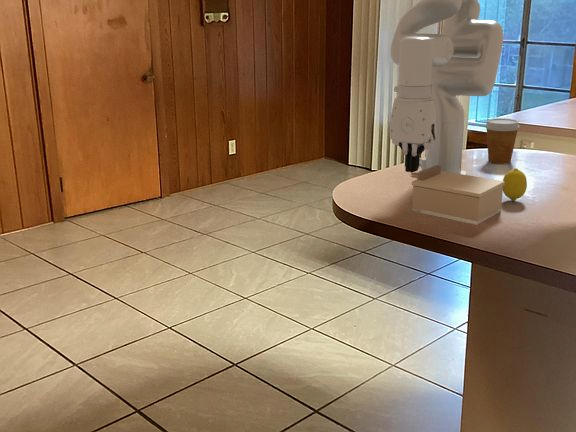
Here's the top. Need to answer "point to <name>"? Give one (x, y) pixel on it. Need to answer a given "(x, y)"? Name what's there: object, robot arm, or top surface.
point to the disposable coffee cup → (501, 139)
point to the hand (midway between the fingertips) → (411, 170)
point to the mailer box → (457, 204)
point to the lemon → (514, 184)
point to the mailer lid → (456, 182)
